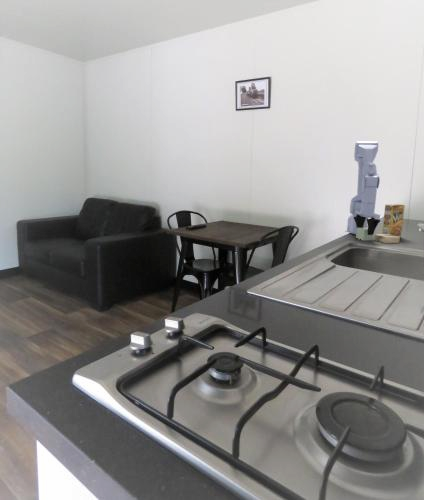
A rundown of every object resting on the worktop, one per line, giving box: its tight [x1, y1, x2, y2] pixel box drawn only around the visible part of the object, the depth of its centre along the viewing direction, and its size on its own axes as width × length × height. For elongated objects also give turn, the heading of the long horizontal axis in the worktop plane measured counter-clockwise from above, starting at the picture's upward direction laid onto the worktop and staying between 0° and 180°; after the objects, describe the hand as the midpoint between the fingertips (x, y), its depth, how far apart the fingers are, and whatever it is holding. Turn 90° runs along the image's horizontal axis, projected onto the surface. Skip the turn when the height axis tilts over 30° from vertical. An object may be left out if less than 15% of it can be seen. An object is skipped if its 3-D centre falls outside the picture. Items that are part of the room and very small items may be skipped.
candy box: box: [381, 203, 406, 238], centre depth 175 cm, size 9×4×15 cm, turn 118°
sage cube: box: [355, 227, 374, 241], centre depth 169 cm, size 5×5×5 cm
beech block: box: [374, 233, 401, 244], centre depth 165 cm, size 7×7×3 cm
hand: (364, 233), depth 169 cm, fingers open, 7 cm apart
